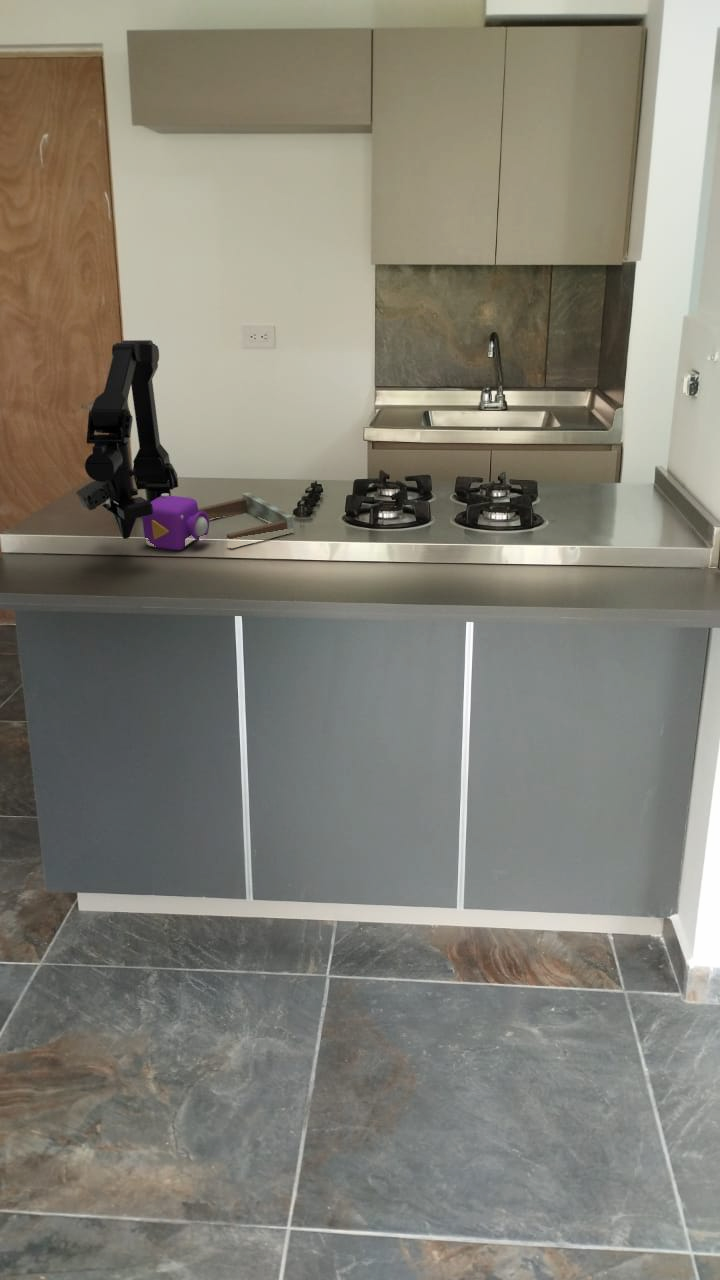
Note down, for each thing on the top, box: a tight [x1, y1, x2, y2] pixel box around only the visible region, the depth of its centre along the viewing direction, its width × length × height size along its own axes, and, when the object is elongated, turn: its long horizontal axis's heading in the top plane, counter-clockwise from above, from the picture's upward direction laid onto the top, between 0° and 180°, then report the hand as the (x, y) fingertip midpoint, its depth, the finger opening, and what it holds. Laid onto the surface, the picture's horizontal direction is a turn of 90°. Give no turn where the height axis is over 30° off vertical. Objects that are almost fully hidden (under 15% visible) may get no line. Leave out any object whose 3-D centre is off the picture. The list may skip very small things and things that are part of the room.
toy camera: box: [141, 493, 210, 551], centre depth 231 cm, size 11×14×10 cm
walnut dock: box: [198, 492, 294, 539], centre depth 239 cm, size 20×16×4 cm
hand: (126, 538), depth 225 cm, fingers closed
